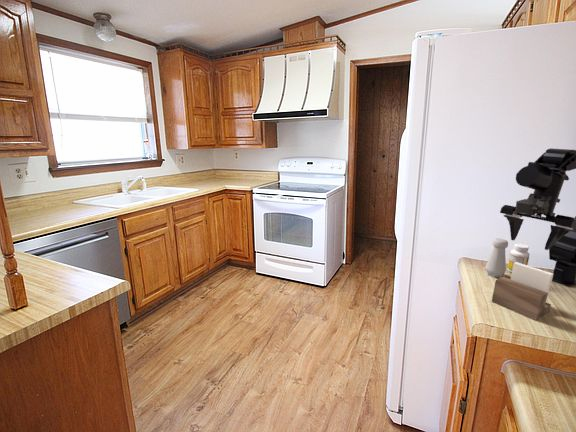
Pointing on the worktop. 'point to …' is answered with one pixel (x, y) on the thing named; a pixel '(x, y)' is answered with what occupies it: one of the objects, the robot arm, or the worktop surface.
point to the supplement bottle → (518, 255)
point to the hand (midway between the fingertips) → (528, 244)
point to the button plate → (532, 277)
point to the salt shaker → (497, 259)
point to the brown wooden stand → (520, 298)
